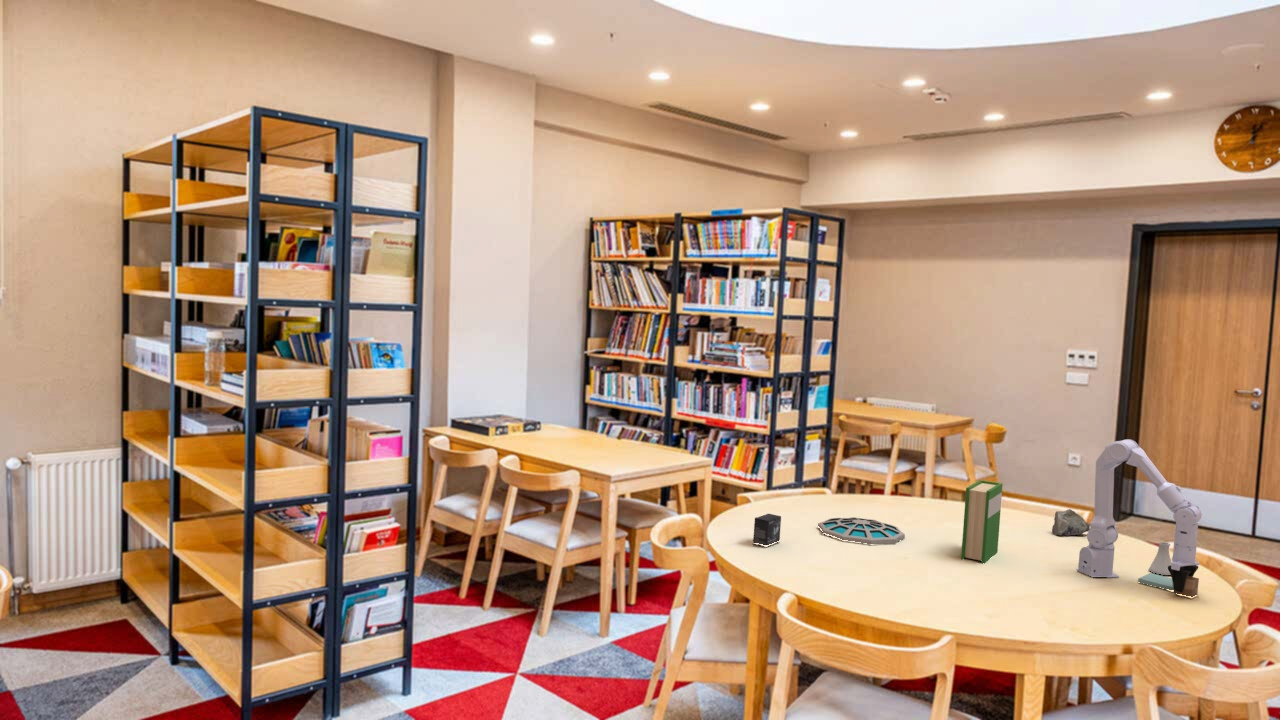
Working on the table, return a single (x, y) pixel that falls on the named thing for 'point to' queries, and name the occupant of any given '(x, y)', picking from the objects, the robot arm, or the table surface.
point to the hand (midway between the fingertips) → (1181, 589)
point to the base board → (1157, 581)
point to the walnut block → (1190, 587)
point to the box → (767, 529)
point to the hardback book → (981, 520)
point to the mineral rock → (1069, 523)
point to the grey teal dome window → (862, 530)
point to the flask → (1161, 560)
